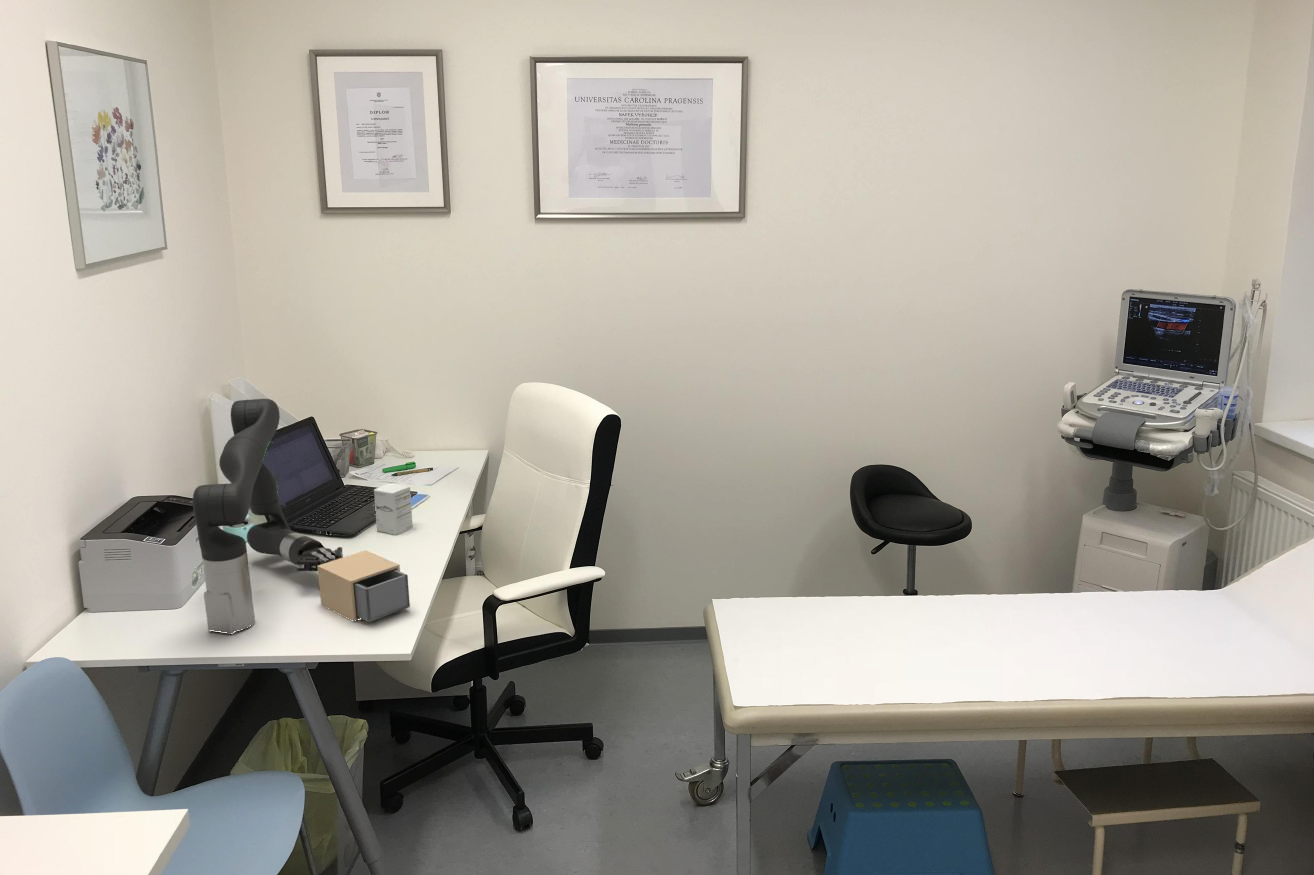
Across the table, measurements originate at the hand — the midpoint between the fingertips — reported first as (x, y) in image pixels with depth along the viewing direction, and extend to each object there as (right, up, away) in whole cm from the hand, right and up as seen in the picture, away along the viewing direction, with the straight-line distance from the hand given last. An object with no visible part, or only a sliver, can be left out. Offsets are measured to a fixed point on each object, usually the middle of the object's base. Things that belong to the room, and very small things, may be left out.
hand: (339, 567), depth 244 cm
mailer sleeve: (+6, -8, -4) cm, 11 cm away
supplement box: (+2, +5, +46) cm, 46 cm away
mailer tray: (+8, -7, -5) cm, 12 cm away
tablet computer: (-3, +10, +67) cm, 68 cm away
